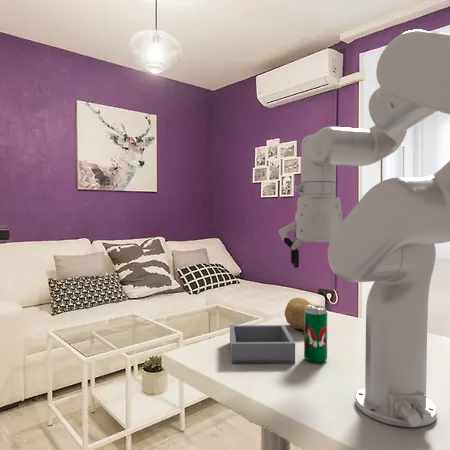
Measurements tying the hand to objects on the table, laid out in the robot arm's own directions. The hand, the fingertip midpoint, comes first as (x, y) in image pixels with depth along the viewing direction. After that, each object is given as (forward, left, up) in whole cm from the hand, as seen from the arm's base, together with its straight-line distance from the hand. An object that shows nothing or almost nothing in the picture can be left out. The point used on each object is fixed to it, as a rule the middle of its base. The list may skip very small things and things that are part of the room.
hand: (317, 267), depth 88 cm
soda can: (0, 0, -21) cm, 21 cm away
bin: (+5, +12, -21) cm, 25 cm away
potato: (+24, -2, -21) cm, 32 cm away
